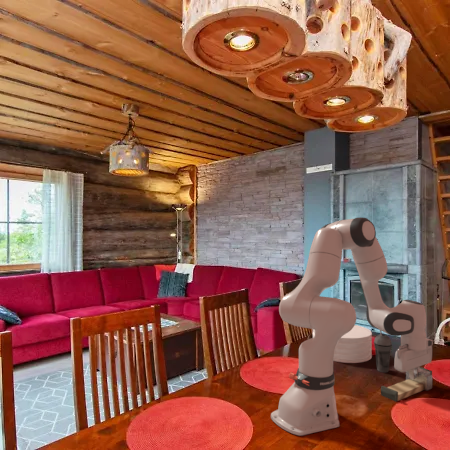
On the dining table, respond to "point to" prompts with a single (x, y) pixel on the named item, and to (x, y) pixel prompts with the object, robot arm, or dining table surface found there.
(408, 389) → the rail
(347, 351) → the plate stack
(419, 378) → the block
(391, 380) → the dining table surface
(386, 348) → the beverage cup
